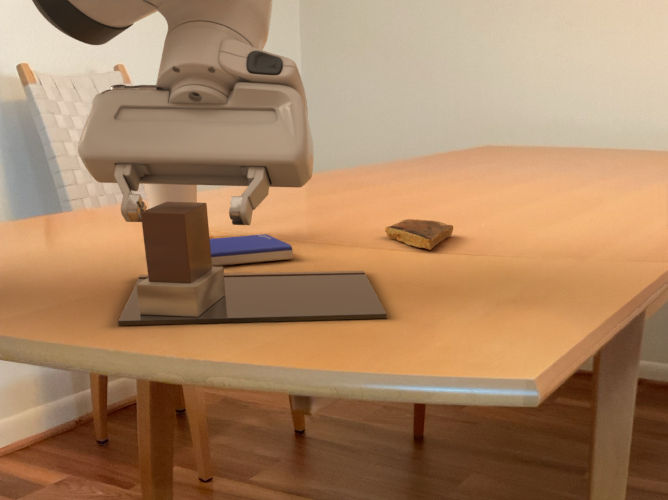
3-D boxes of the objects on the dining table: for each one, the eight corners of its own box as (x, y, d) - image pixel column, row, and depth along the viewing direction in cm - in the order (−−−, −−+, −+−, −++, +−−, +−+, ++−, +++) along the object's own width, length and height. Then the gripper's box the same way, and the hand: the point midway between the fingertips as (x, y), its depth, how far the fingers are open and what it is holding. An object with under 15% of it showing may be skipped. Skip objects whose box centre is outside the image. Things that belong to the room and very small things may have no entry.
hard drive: (265, 233, 104) (156, 241, 99) (292, 245, 98) (178, 254, 92) (265, 247, 105) (158, 256, 99) (292, 260, 98) (179, 270, 93)
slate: (118, 325, 74) (117, 319, 74) (139, 280, 89) (139, 275, 89) (386, 318, 77) (386, 312, 77) (364, 275, 92) (364, 270, 92)
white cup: (136, 238, 109) (119, 98, 102) (186, 232, 113) (173, 97, 106) (164, 246, 104) (149, 101, 97) (216, 240, 108) (204, 99, 101)
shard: (430, 252, 103) (430, 236, 102) (366, 248, 105) (366, 231, 104) (455, 237, 112) (456, 221, 111) (396, 232, 114) (396, 217, 113)
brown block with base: (198, 317, 75) (188, 215, 72) (139, 314, 76) (127, 213, 72) (225, 294, 82) (218, 201, 79) (171, 292, 83) (161, 199, 79)
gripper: (82, 58, 80) (52, 192, 76) (313, 60, 78) (294, 198, 74) (110, 111, 86) (82, 238, 82) (325, 115, 84) (307, 245, 80)
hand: (185, 219), depth 78 cm, fingers open, 8 cm apart
